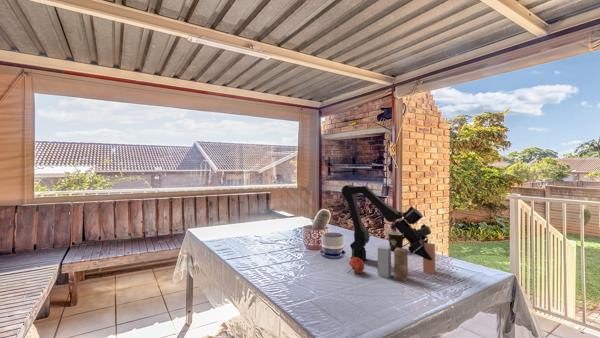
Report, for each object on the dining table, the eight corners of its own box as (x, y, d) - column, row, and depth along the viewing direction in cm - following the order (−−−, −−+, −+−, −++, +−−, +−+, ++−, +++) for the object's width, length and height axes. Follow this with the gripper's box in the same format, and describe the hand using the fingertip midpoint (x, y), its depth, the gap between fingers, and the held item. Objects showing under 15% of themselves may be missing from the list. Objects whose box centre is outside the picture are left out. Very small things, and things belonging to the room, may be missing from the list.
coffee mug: (385, 249, 163) (384, 232, 163) (396, 247, 167) (396, 231, 167) (399, 255, 152) (399, 236, 153) (411, 252, 156) (411, 235, 156)
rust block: (423, 272, 127) (422, 244, 127) (424, 269, 131) (424, 242, 131) (434, 274, 124) (433, 246, 124) (435, 271, 128) (435, 243, 128)
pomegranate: (353, 281, 123) (371, 267, 123) (342, 267, 124) (360, 253, 124) (351, 276, 130) (368, 263, 130) (341, 263, 131) (358, 250, 131)
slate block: (378, 276, 123) (377, 247, 123) (381, 272, 127) (380, 245, 127) (388, 278, 121) (388, 249, 121) (391, 274, 124) (390, 246, 124)
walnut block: (394, 279, 119) (394, 250, 119) (397, 275, 123) (396, 247, 123) (405, 281, 117) (405, 251, 117) (407, 277, 121) (407, 249, 121)
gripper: (415, 223, 122) (444, 252, 116) (422, 216, 138) (448, 242, 132) (397, 239, 126) (424, 267, 120) (406, 231, 142) (430, 256, 136)
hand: (432, 257), depth 127 cm, fingers open, 8 cm apart
